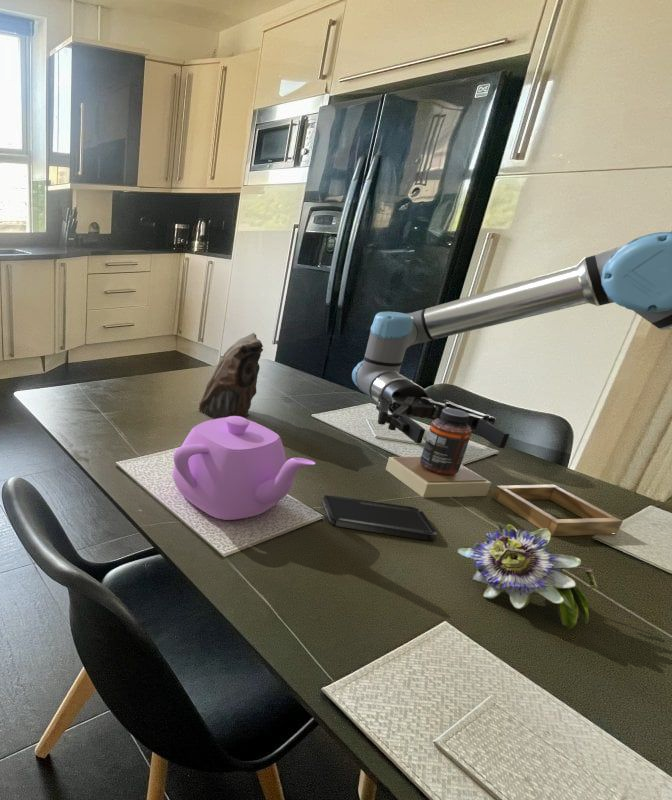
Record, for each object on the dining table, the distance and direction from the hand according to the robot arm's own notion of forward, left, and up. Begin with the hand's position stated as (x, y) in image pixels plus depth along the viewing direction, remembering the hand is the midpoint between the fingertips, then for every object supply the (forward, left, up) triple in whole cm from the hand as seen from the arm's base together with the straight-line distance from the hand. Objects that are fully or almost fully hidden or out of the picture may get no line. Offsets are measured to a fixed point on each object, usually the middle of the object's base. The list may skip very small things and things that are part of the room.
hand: (462, 438), depth 84 cm
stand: (-1, -3, -11) cm, 11 cm away
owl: (+27, -36, -11) cm, 47 cm away
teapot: (+40, +1, -11) cm, 42 cm away
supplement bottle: (-1, -3, -8) cm, 9 cm away
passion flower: (+10, +25, -11) cm, 29 cm away
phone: (+18, +8, -11) cm, 23 cm away
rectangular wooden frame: (-13, +8, -11) cm, 18 cm away
